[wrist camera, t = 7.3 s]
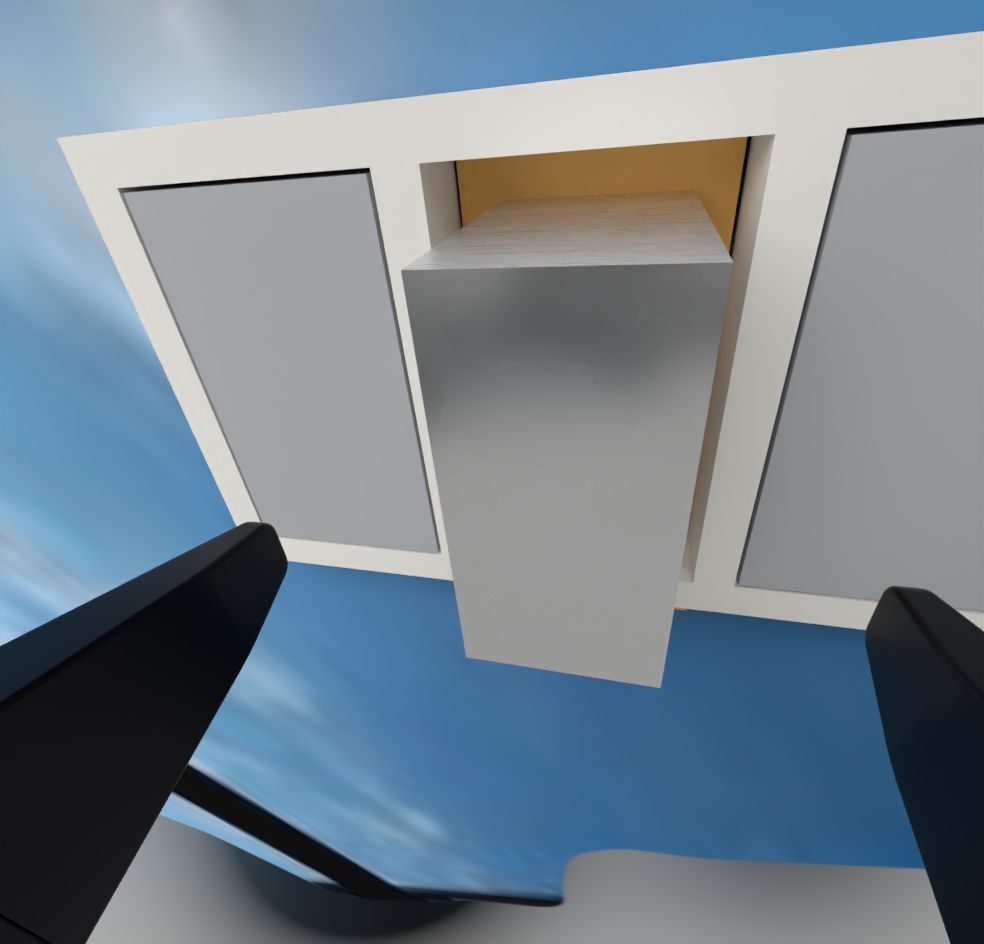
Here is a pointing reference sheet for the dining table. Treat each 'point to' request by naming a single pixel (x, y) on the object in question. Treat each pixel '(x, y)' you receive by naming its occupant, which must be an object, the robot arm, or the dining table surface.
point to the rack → (585, 172)
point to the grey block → (570, 419)
